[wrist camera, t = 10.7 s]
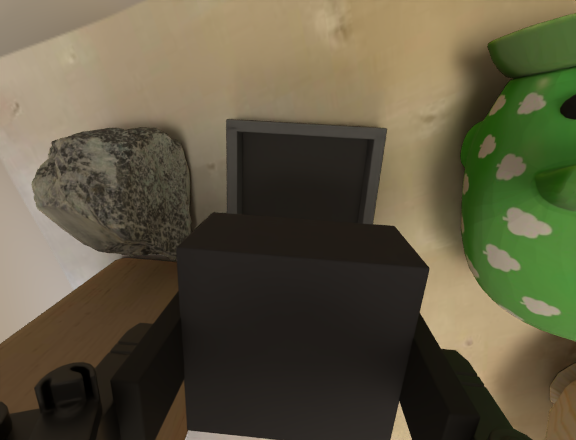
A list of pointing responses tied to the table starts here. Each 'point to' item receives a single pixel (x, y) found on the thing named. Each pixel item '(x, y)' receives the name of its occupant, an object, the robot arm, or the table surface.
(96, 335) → the wooden block
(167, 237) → the stone
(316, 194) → the black tray
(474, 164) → the piggy bank
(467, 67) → the table surface
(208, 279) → the foam pad
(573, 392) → the bowl
